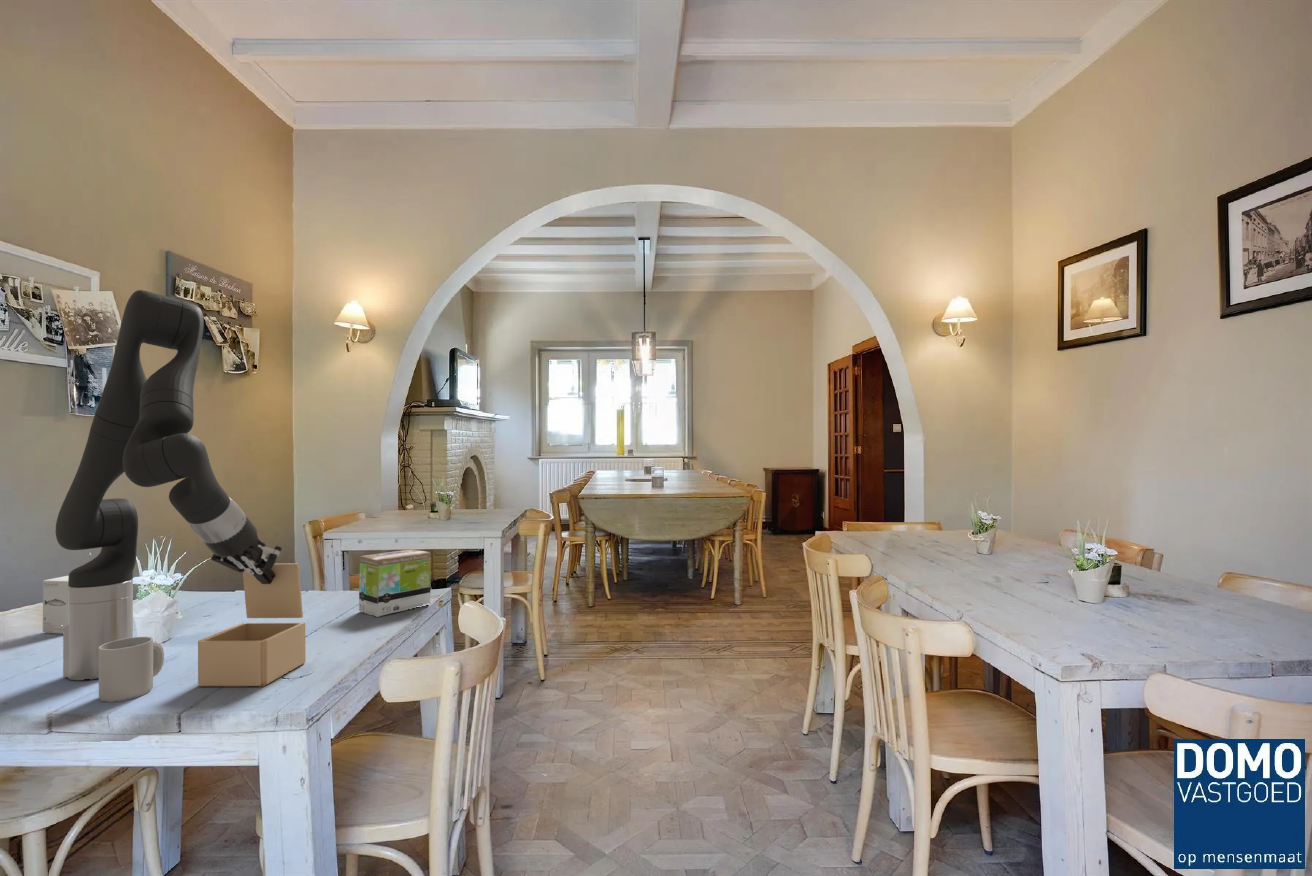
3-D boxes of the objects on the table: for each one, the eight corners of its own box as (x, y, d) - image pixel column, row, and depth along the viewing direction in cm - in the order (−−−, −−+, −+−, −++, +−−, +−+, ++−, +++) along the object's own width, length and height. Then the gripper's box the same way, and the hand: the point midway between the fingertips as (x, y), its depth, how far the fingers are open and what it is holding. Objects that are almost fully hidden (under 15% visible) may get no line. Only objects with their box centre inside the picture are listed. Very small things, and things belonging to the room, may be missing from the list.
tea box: (378, 618, 153) (377, 559, 153) (358, 612, 159) (357, 555, 159) (431, 605, 165) (431, 550, 165) (411, 600, 171) (411, 547, 171)
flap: (246, 618, 121) (241, 564, 120) (248, 617, 122) (243, 563, 121) (301, 617, 121) (297, 564, 120) (303, 617, 121) (298, 563, 120)
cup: (87, 701, 104) (87, 648, 104) (146, 679, 113) (146, 631, 114) (121, 704, 102) (121, 650, 102) (178, 681, 112) (178, 632, 112)
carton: (194, 687, 109) (194, 641, 109) (244, 662, 121) (243, 622, 122) (264, 687, 109) (264, 641, 109) (306, 662, 121) (306, 621, 121)
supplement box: (41, 633, 144) (41, 580, 144) (75, 624, 151) (75, 573, 151) (66, 635, 142) (67, 580, 143) (100, 625, 150) (100, 574, 150)
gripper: (268, 508, 110) (310, 564, 122) (198, 509, 111) (246, 564, 123) (247, 541, 105) (293, 596, 117) (173, 542, 105) (226, 597, 117)
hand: (268, 580), depth 120 cm, fingers closed
